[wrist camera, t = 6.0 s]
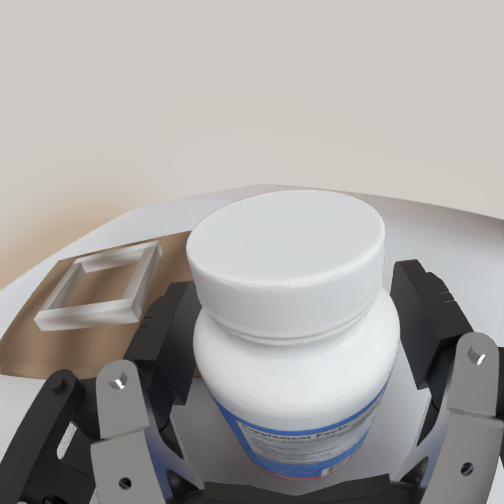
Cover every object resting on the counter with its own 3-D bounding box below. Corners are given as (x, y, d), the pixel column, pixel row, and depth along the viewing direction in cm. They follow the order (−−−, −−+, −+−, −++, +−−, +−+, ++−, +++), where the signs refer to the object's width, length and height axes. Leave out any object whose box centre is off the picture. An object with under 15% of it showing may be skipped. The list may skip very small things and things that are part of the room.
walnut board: (227, 237, 28) (221, 212, 27) (231, 372, 14) (219, 339, 13) (64, 271, 28) (54, 251, 27) (-2, 373, 14) (-21, 350, 13)
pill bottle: (252, 380, 13) (201, 190, 9) (360, 377, 12) (379, 174, 7) (232, 480, 9) (98, 309, 4) (366, 480, 8) (474, 293, 3)
